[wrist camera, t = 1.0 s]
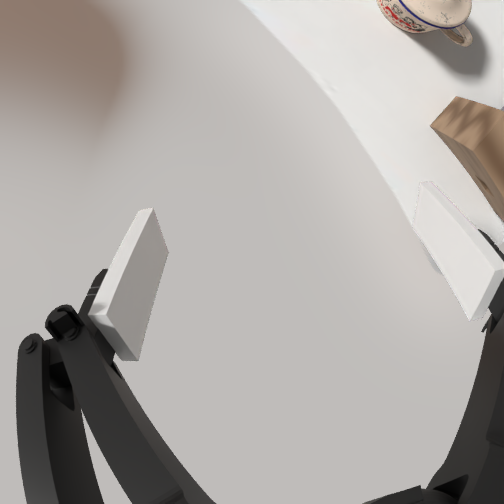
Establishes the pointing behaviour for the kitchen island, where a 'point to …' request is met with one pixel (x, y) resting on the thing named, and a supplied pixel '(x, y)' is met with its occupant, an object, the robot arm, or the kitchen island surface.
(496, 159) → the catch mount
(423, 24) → the teacup with lid
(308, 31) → the kitchen island surface
